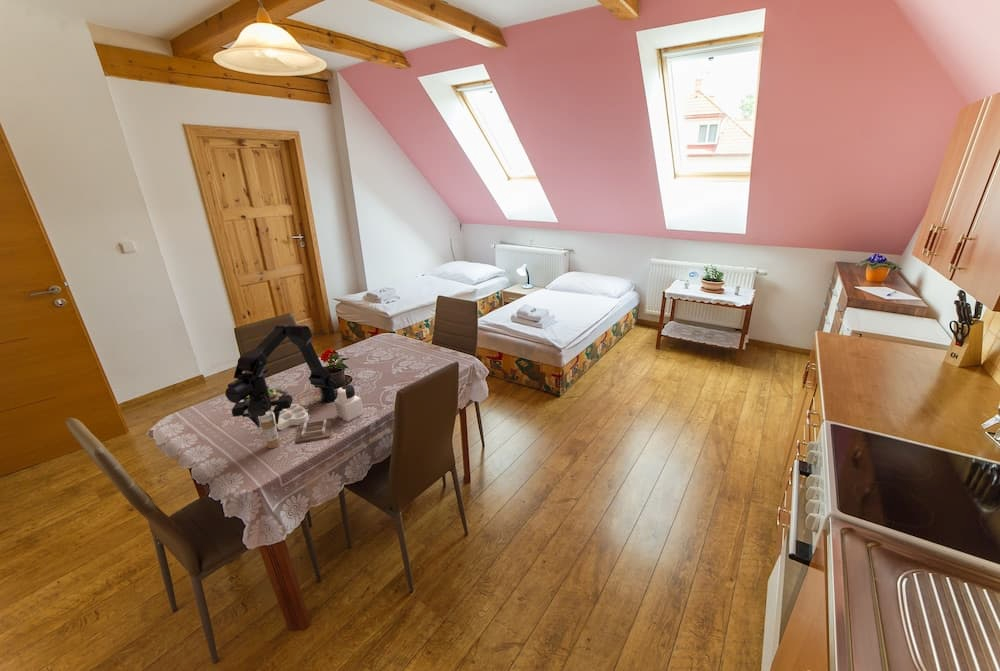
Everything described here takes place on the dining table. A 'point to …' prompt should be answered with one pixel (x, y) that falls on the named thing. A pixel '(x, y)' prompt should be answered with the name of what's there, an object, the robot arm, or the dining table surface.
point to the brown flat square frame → (314, 430)
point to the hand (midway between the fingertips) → (268, 425)
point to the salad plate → (271, 394)
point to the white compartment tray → (291, 416)
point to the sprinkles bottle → (269, 430)
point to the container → (348, 403)
